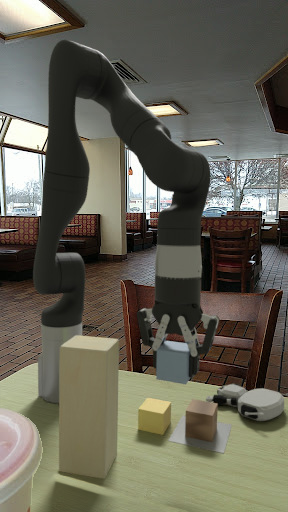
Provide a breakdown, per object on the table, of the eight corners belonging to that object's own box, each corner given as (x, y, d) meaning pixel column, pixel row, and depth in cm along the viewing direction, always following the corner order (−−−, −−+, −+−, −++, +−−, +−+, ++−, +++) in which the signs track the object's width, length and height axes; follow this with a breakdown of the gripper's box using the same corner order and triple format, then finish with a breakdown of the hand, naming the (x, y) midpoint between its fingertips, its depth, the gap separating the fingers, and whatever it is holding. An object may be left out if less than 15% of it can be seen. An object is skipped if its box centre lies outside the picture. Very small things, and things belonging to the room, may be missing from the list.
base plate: (168, 444, 68) (168, 440, 68) (182, 418, 78) (182, 415, 78) (223, 457, 65) (223, 453, 65) (231, 428, 74) (231, 424, 74)
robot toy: (202, 412, 83) (266, 434, 72) (201, 391, 83) (265, 411, 72) (232, 394, 91) (293, 412, 81) (231, 376, 91) (292, 391, 81)
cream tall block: (119, 455, 65) (120, 337, 63) (106, 483, 58) (106, 351, 56) (76, 448, 67) (76, 333, 65) (58, 475, 60) (57, 346, 58)
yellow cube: (138, 433, 72) (138, 408, 72) (147, 421, 77) (147, 397, 76) (162, 439, 70) (163, 413, 70) (170, 426, 75) (171, 402, 75)
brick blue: (156, 379, 61) (156, 349, 61) (165, 368, 66) (166, 340, 66) (185, 384, 60) (186, 353, 59) (193, 372, 64) (194, 344, 64)
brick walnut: (185, 436, 70) (185, 410, 69) (191, 423, 74) (192, 398, 74) (211, 442, 68) (212, 415, 68) (216, 428, 73) (217, 403, 72)
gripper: (128, 272, 61) (127, 375, 62) (217, 278, 55) (214, 390, 57) (145, 267, 68) (144, 359, 69) (226, 272, 62) (222, 372, 64)
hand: (175, 373), depth 63 cm, fingers closed on brick blue, 5 cm apart
